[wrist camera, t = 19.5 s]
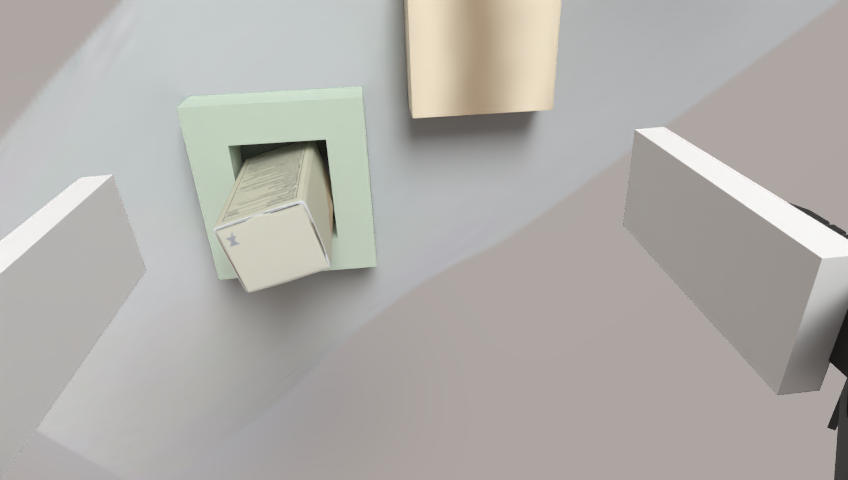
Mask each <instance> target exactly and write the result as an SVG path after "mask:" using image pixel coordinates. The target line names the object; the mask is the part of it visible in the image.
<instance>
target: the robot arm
mask: <svg viewBox="0 0 848 480" xmlns="http://www.w3.org/2000/svg"><path fill="white" fill-rule="evenodd" d="M623 226H624V227H625V228H626V229H627V230H628V231H629V233H630V234H631V235H632V236H633V237H634V238H635V239H636V240H637V241H638V242H639V244H640V245H641V246H642V247H643V248H644V249H645V250H646V251H647V252H648V253H649V255H650V256H651V257H652V258H653V259H654V260H655V261H656V262H657V263H658V264H659V266H660V267H661V268H662V269H663V270H664V271H665V272H666V273H667V274H668V275H669V277H670V278H671V279H672V280H673V281H674V282H675V283H676V284H677V285H678V286H679V288H680V289H681V290H682V291H683V292H684V293H685V294H686V295H687V296H688V297H689V299H690V300H691V301H692V302H693V303H694V304H695V305H696V306H697V307H698V308H699V310H700V311H701V312H702V313H703V314H704V315H705V316H706V317H707V318H708V319H709V321H710V322H711V323H712V324H713V325H714V326H715V327H716V328H717V329H718V330H719V331H720V333H721V334H722V335H723V336H724V337H725V338H726V339H727V340H728V341H729V343H730V344H731V345H732V346H733V347H734V348H735V349H736V350H737V351H738V352H739V353H740V355H741V356H742V357H743V358H744V359H745V360H746V361H747V362H748V364H750V366H751V367H752V368H753V369H754V370H755V371H756V372H757V373H758V374H759V375H760V377H761V378H762V379H763V380H764V381H765V382H766V383H767V384H768V385H769V387H770V388H771V389H772V390H773V391H774V392H775V393H776V394H777V395H783V394H792V393H801V392H810V391H819V390H820V388H821V385H822V382H823V380H824V377H825V374H826V372H827V369H828V366H829V364H830V362H831V363H832V364H833V365H834V366H835V367H836V368H838V369H839V370H840V371H841V372H842V373H843V374H844V375H845V376H846V377H847V380H846V383H845V385H844V388H843V390H842V392H841V395H840V397H839V400H838V402H837V405H836V407H835V410H834V412H833V415H832V417H831V420H830V422H829V425H828V428H830V429H833V430H836V428H837V426H838V435H837V450H836V464H835V477H834V480H848V235H846V232H845V231H843V230H842V229H840V228H838V227H837V226H835V225H830V224H829V222H828V221H827V220H825V219H823V218H822V217H820V216H818V215H817V214H815V213H813V212H812V211H810V210H808V209H805V208H801V207H799V206H796V205H793V204H791V203H788V202H786V201H784V200H782V199H781V198H779V197H777V196H776V195H774V194H773V193H771V192H769V191H768V190H766V189H764V188H763V187H761V186H759V185H758V184H756V183H755V182H753V181H751V180H750V179H748V178H746V177H745V176H743V175H741V174H739V173H738V172H737V171H735V170H733V169H732V168H730V167H728V166H727V165H725V164H724V163H722V162H720V161H719V160H717V159H715V158H713V157H712V156H710V155H709V154H707V153H706V152H704V151H702V150H701V149H699V148H697V147H696V146H694V145H692V144H691V143H689V142H687V141H686V140H684V139H683V138H681V137H679V136H677V135H676V134H674V133H673V132H671V131H670V130H668V129H666V128H665V127H659V128H647V129H635V133H634V141H633V149H632V157H631V165H630V173H629V181H628V189H627V197H626V205H625V213H624V221H623ZM145 272H146V268H145V265H144V262H143V259H142V257H141V254H140V251H139V248H138V245H137V242H136V240H135V237H134V234H133V231H132V228H131V225H130V223H129V220H128V217H127V214H126V211H125V208H124V206H123V203H122V200H121V197H120V194H119V191H118V189H117V186H116V183H115V180H114V177H113V175H104V176H93V177H81V178H79V179H78V180H77V181H76V182H74V183H73V184H72V185H71V186H69V187H68V188H67V189H66V190H64V191H63V192H62V193H61V194H59V195H58V196H57V197H56V198H54V199H53V200H52V201H50V202H49V203H48V204H47V205H45V206H44V207H43V208H42V209H40V210H39V211H38V212H37V213H35V214H34V215H33V216H32V217H30V218H29V219H28V220H27V221H25V222H24V223H23V224H21V225H20V226H19V227H18V228H16V229H15V230H14V231H13V232H11V233H10V234H9V235H8V236H6V237H5V238H4V239H3V240H1V241H0V480H1V479H2V478H3V476H4V475H5V474H6V472H7V471H8V469H9V468H10V466H11V465H12V463H13V462H14V460H15V459H16V458H17V456H18V455H19V453H20V452H21V450H22V449H23V448H24V446H25V445H26V443H27V442H28V440H29V439H30V438H31V436H32V434H33V433H34V432H35V430H36V429H37V427H38V426H39V425H40V423H41V422H42V420H43V419H44V417H45V416H46V414H47V413H48V412H49V410H50V409H51V407H52V406H53V404H54V403H55V402H56V400H57V399H58V397H59V396H60V394H61V393H62V391H63V390H64V389H65V387H66V386H67V384H68V383H69V381H70V380H71V378H72V377H73V376H74V374H75V373H76V371H77V370H78V368H79V367H80V365H81V364H82V363H83V361H84V360H85V358H86V357H87V355H88V354H89V353H90V351H91V350H92V348H93V347H94V345H95V344H96V342H97V341H98V340H99V338H100V337H101V335H102V334H103V332H104V331H105V329H106V328H107V327H108V325H109V324H110V322H111V321H112V319H113V318H114V316H115V315H116V314H117V312H118V311H119V309H120V308H121V306H122V305H123V304H124V302H125V301H126V299H127V298H128V296H129V295H130V293H131V292H132V291H133V289H134V288H135V286H136V285H137V283H138V282H139V280H140V279H141V278H142V276H143V275H144V273H145Z"/></svg>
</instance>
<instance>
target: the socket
mask: <svg viewBox="0 0 848 480" xmlns="http://www.w3.org/2000/svg"><path fill="white" fill-rule="evenodd" d="M176 109H177V113H178V117H179V121H180V125H181V129H182V133H183V137H184V141H185V145H186V149H187V153H188V158H189V162H190V166H191V170H192V174H193V178H194V182H195V186H196V190H197V194H198V198H199V202H200V207H201V211H202V215H203V219H204V223H205V227H206V231H207V235H208V239H209V243H210V247H211V251H212V256H213V260H214V264H215V268H216V272H217V276H218V280H222V279H234V278H238V277H237V275H236V274H235V272H234V270H233V268H232V267H231V265H230V263H229V261H228V259H227V257H226V255H225V254H224V252H223V250H222V248H221V246H220V244H219V242H218V240H217V238H216V236H215V234H214V232H213V228H214V226H215V223H216V221H217V219H218V217H219V215H220V213H221V211H222V209H223V207H224V204H225V202H226V200H227V198H228V196H229V194H230V192H231V190H232V187H233V185H234V183H235V181H236V179H237V177H238V175H239V173H240V171H241V168H242V166H243V159H242V154H241V149H240V145H249V144H264V143H280V142H295V141H311V140H326V144H327V152H328V161H329V169H330V177H331V186H332V194H333V203H334V211H335V219H336V220H333V225H332V252H331V267H330V268H329V269H326V270H323V271H329V270H341V269H353V268H365V267H377V262H376V248H375V236H374V224H373V212H372V200H371V188H370V176H369V164H368V152H367V140H366V128H365V116H364V104H363V92H362V86H360V87H342V88H324V89H307V90H289V91H271V92H253V93H236V94H218V95H200V96H189V97H188V98H187V99H186V100H185V101H184V102H182V103H181V104H180V105H179V106H178V107H177V108H176Z"/></svg>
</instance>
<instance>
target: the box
mask: <svg viewBox="0 0 848 480" xmlns="http://www.w3.org/2000/svg"><path fill="white" fill-rule="evenodd" d="M332 225H333V194H332V186H331V181H330V178H329V175H328V173H327V170H326V167H325V165H324V162H323V159H322V157H321V154H320V152H319V149H318V147H317V144H316V142H315V140H311V141H301V142H297V143H294V144H290V145H287V146H284V147H281V148H278V149H275V150H272V151H269V152H265V153H262V154H260V155H257V156H254V157H251V158H248V159H246V160H245V162H244V164H243V166H242V168H241V171H240V173H239V175H238V177H237V179H236V181H235V183H234V185H233V187H232V190H231V192H230V194H229V196H228V198H227V200H226V202H225V204H224V207H223V209H222V211H221V213H220V215H219V217H218V219H217V221H216V223H215V226H214V228H213V232H214V234H215V236H216V238H217V240H218V242H219V244H220V246H221V248H222V250H223V252H224V254H225V255H226V257H227V259H228V261H229V263H230V265H231V267H232V268H233V270H234V272H235V274H236V275H237V277H238V279H239V281H240V282H241V284H242V286H243V288H244V289H245V291H246V292H247V293H251V292H255V291H259V290H262V289H265V288H269V287H272V286H276V285H279V284H282V283H286V282H289V281H292V280H295V279H299V278H302V277H304V276H308V275H311V274H314V273H317V272H320V271H323V270H326V269H329V268H330V267H331V252H332Z"/></svg>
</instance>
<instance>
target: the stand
mask: <svg viewBox="0 0 848 480" xmlns="http://www.w3.org/2000/svg"><path fill="white" fill-rule="evenodd" d="M560 11H561V0H404V16H405V39H406V61H407V83H408V105H409V109H410V112H411V115H412V118H427V117H443V116H460V115H476V114H492V113H508V112H524V111H541V110H553V99H554V86H555V74H556V61H557V48H558V36H559V23H560Z"/></svg>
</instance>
